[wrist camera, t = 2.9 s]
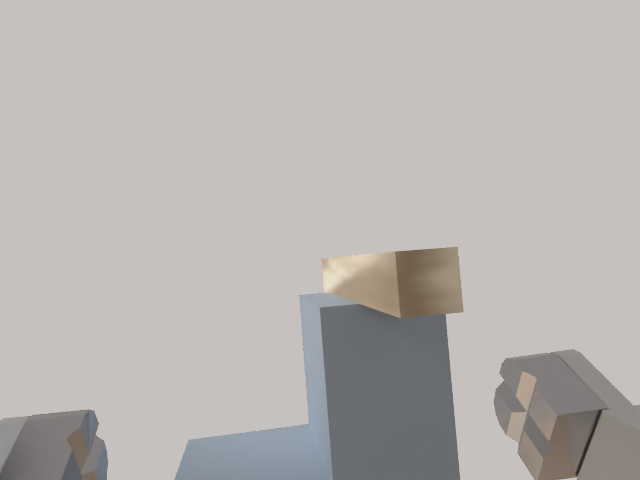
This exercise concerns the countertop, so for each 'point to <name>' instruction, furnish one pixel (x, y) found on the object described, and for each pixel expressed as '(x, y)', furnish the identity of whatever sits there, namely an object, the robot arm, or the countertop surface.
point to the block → (398, 281)
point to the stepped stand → (352, 405)
